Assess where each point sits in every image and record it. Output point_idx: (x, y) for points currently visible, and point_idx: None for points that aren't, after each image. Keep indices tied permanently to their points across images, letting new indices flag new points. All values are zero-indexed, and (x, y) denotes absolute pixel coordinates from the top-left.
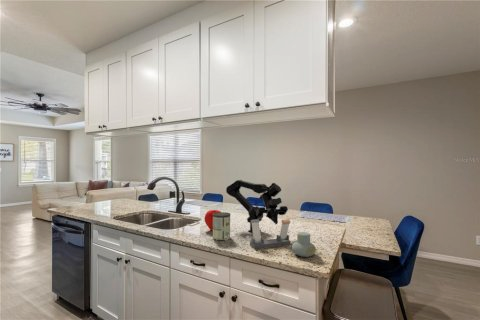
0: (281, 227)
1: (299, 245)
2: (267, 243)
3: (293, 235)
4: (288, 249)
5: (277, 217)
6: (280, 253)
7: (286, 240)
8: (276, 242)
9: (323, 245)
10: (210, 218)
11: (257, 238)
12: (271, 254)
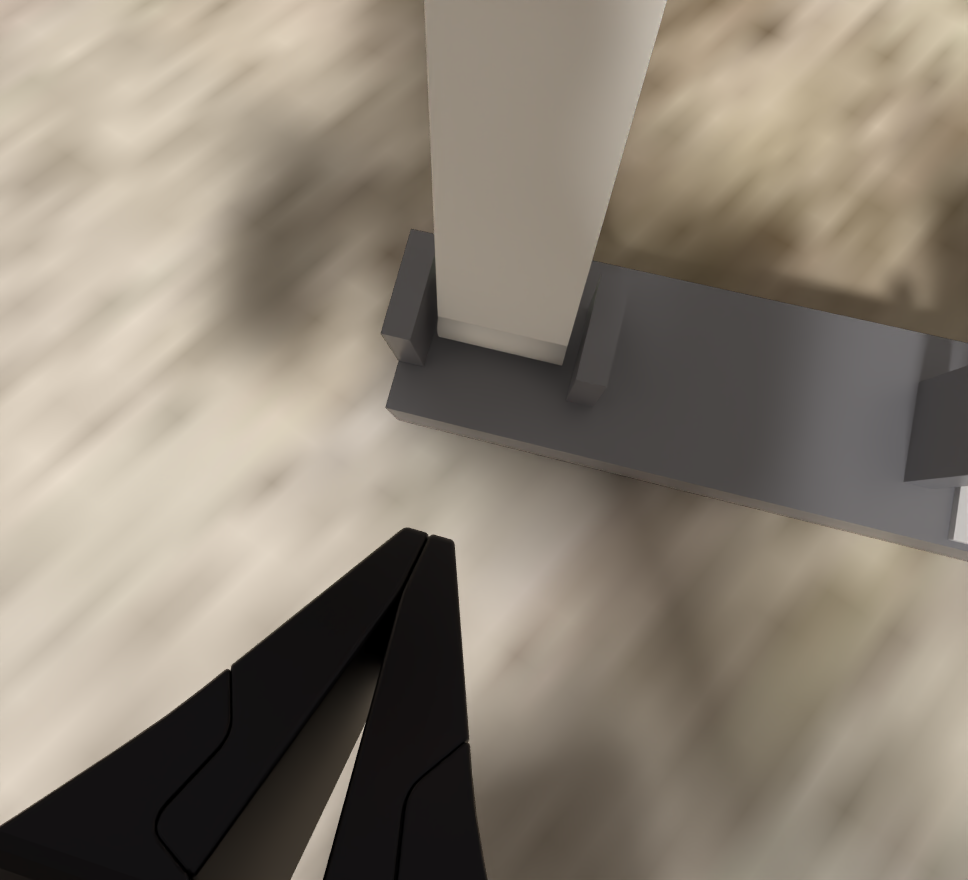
0: (624, 139)
1: None
2: (874, 333)
3: (13, 581)
4: None
5: (231, 673)
6: (821, 85)
7: None
8: (700, 292)
9: (96, 8)
10: None
11: None
12: (956, 118)
